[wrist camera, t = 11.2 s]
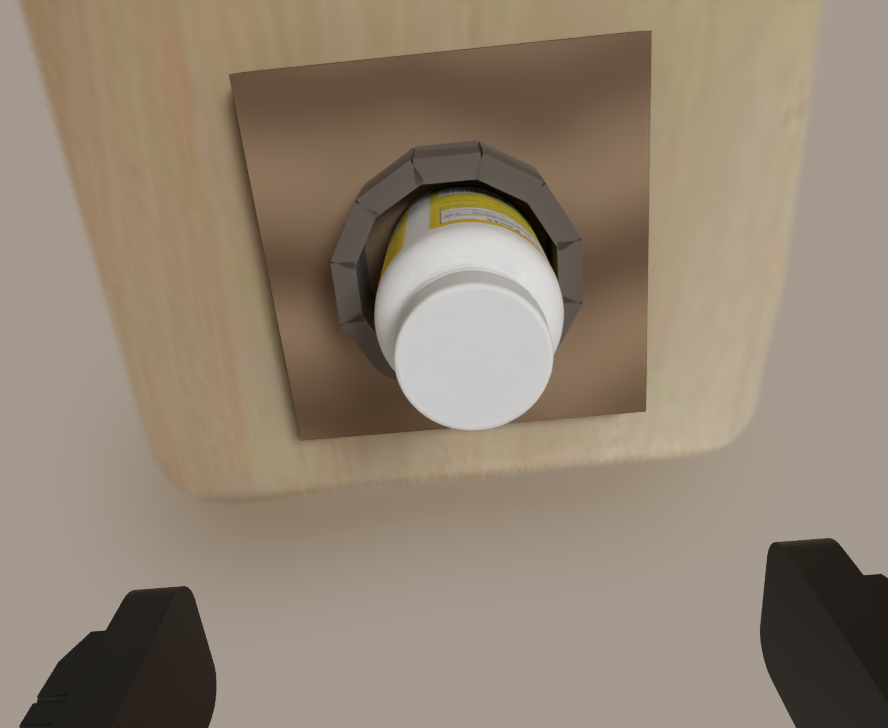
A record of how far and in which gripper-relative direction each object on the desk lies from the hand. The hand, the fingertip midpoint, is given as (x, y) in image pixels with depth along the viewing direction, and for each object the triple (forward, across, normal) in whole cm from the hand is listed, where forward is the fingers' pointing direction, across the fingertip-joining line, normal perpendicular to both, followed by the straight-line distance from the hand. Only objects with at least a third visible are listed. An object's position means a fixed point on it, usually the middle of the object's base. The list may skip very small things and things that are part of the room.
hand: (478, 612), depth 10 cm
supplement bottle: (+19, 0, 0) cm, 19 cm away
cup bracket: (+20, 0, 0) cm, 20 cm away
